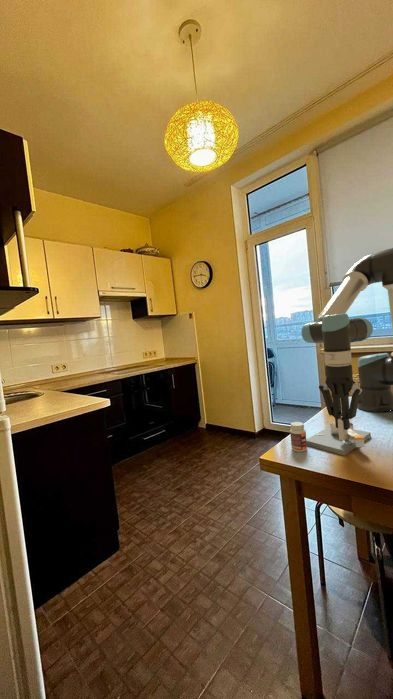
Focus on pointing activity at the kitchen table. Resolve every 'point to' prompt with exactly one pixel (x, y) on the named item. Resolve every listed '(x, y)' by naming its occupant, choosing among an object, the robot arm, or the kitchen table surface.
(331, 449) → the stand board
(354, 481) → the kitchen table surface
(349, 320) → the robot arm
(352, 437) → the silver ladle
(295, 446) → the pill bottle
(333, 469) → the kitchen table surface
